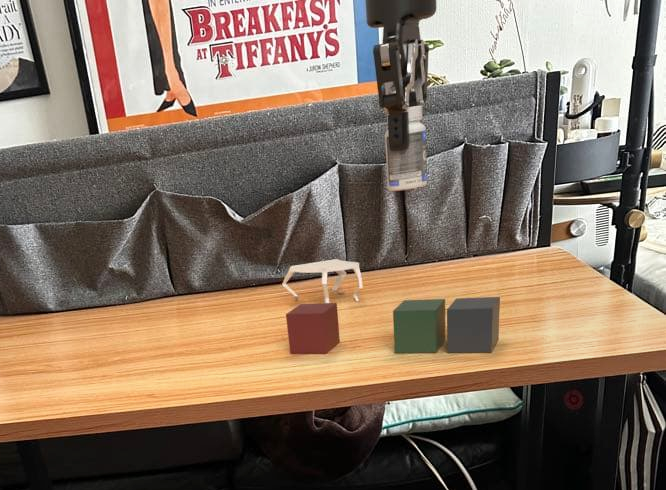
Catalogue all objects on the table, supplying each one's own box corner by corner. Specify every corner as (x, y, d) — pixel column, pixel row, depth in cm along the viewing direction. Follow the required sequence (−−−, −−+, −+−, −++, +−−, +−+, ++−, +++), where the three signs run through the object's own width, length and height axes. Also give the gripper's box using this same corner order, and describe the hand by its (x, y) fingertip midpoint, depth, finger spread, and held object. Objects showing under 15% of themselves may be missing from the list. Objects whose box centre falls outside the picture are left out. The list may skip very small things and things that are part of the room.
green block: (445, 340, 78) (445, 298, 75) (436, 353, 74) (435, 309, 72) (405, 341, 79) (403, 300, 77) (394, 353, 76) (392, 310, 74)
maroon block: (339, 341, 83) (336, 302, 80) (326, 353, 79) (323, 313, 77) (304, 342, 84) (300, 303, 82) (290, 353, 81) (285, 314, 79)
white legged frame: (368, 289, 105) (366, 253, 102) (363, 302, 98) (361, 264, 95) (287, 296, 107) (283, 262, 105) (277, 310, 100) (272, 273, 98)
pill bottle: (433, 185, 85) (431, 103, 81) (395, 192, 85) (391, 110, 81) (418, 184, 89) (416, 105, 85) (382, 190, 89) (378, 112, 85)
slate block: (498, 339, 75) (499, 296, 73) (491, 352, 72) (492, 307, 70) (455, 340, 77) (456, 298, 75) (446, 352, 74) (446, 309, 72)
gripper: (416, -49, 70) (421, 149, 78) (450, -34, 80) (451, 139, 89) (343, -30, 73) (355, 158, 81) (385, -19, 84) (392, 147, 92)
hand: (405, 147), depth 85 cm, fingers closed on pill bottle, 4 cm apart
